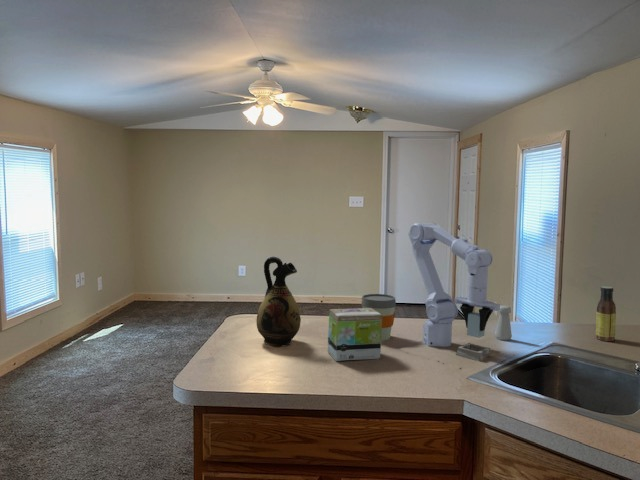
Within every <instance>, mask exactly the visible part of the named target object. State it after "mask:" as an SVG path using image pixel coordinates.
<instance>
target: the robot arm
mask: <svg viewBox="0 0 640 480" xmlns="http://www.w3.org/2000/svg"><path fill="white" fill-rule="evenodd" d="M408 237H409V240H410V243H411V247H412V248H411V249H412V253H413V256H414V258H415V262H416V264H417V267H418V270H419V272H420V275H421V278H422V280H423V283H424V287H425V290H426V292H427V294H428V295H427V296H428V297H427V298H426V301H425V302H424V303H425V307H426V311H425V312H426V315H427V318H428V319H429V320H426V321H424V323H423V326H422V327H423V329H422V342H423V343H424V344H425V345H426V346H427V347H440V348H441V347H451V346H452V340H453V339H452V337H453V336H452V335H453V322H454V321H455V318H456V317H457V316H458V311H459V309H460V311H461V313H462V316H463V318H464V322H465V327H466V329H467V325H468V314H469V313H472V312H474V308H476V307H477V308H479V309H478V313H479V314H480V331H483V330H485V329H486V328H487V327H486V326H487V322H488V320H489V319H490V316H491V315H492V313H493V312H499V310H500V306H501V304H500V303H496V302H494V301H493V302H492V301H488V300H487V295H488V294H487V292H488V278H489V277H488V274H489V267H490V266H491V265H492V262H493V255H492V253H491V251H489V250H488V249H486V248H482V249H481V248H480V247H479V246H478V244H477V245H474V244H473V243H471V242H469V240H468V238H466V237H464V238H463V237H462V238H456V237H455V236H453V235H452V234H451V233H449V232H448V231H446V230H445V229H444V228H443V227H442V226H441V225H440V224H437V223H436V222H431V223H429V222H426V223H423V222H422V223H421V222H420V223H418V222H415V223H412V225H411V226H410V227H409V232H408ZM437 241H438V242H440V243H442V244H444V245H446V246H448V247H450V248H451V252H452V253H453V254H454V255H456V256H457V257H458V258H460V259H462V260H464V261H465V264H466V265H467V272H468V281H467V284H468V285H467V297H462V296H456V297H454V301H453V299H452V296H451V295H450V294H448V293H447V292H445V290H444V287H443V286H442V283H441V279H440V277H439V274H438V272H437V269H436V266H435V264H434V261H433V258H432V256H431V253H430V251H431V248H433V246H434V245H435V243H436V242H437ZM457 304H459V305H461V306H459V309H458V306H457ZM485 331H486V330H485Z"/></svg>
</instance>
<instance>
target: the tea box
mask: <svg viewBox="0 0 640 480" xmlns="http://www.w3.org/2000/svg"><path fill="white" fill-rule="evenodd" d="M381 331H382V315H381V314H380V313H378V312H377V311H375V310H374V309H372V308H361V307H360V308H359V307H358V308H330V309H329V312H328V332H327V333H328V334H327V353H328V354H329V355H330V356H331V357H332V358H333V359H334V361H335V362H342V361H354V360H355V361H357V360H361V361H362V360H379V359H381V352H382V351H381V348H382V341H381Z"/></svg>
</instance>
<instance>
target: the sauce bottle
mask: <svg viewBox="0 0 640 480" xmlns="http://www.w3.org/2000/svg"><path fill="white" fill-rule="evenodd" d="M613 293H614V287H613V286H608V285H607V286H605V285H603V286H600V299H599V301H598V304H597V307H596V316H595V317H596V319H595V320H596V322H595V336H596V337H595V338H596V339H598V340H600V341H601V342H602V341H604V342H614V341H615V339H616V338H615V337H616V322H617V312H616V310H617V306H616V303H615V301H614V298H613V295H614V294H613Z"/></svg>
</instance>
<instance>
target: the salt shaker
mask: <svg viewBox="0 0 640 480" xmlns="http://www.w3.org/2000/svg"><path fill="white" fill-rule="evenodd" d="M498 312H499V317H498V320H497V323H496V324H497V325H496V327H495V330H494V331H495V332H494V336H495V339H496V340H499V341H503V342H504V341H510V340H511V339H512V336H513V335H512V328H511V319H510V314H511V313H512V308H511V306H509V305H500V310H499V311H498Z"/></svg>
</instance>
